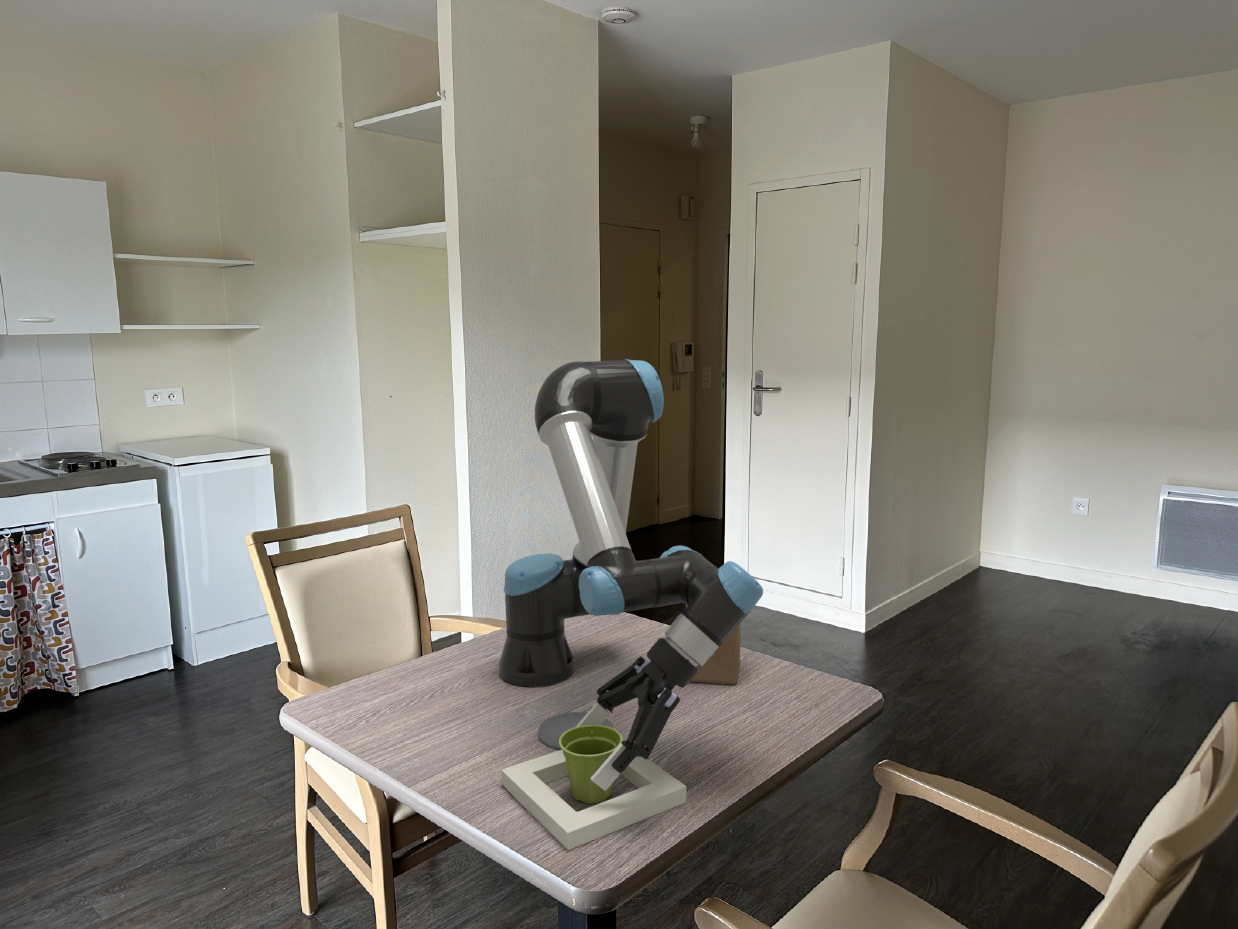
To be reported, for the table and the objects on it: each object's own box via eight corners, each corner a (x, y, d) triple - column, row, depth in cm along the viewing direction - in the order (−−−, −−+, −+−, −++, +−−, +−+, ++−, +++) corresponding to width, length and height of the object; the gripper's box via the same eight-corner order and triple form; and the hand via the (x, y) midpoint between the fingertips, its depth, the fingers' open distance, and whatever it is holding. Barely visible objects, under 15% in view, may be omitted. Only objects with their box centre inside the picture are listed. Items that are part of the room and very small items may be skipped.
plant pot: (631, 804, 123) (630, 749, 122) (568, 816, 120) (566, 759, 119) (613, 773, 132) (612, 720, 130) (554, 783, 129) (552, 730, 128)
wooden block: (737, 686, 163) (737, 586, 159) (685, 683, 165) (685, 584, 161) (740, 666, 172) (740, 571, 169) (691, 663, 174) (691, 569, 171)
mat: (524, 728, 147) (524, 725, 147) (588, 708, 154) (588, 705, 154) (562, 759, 136) (562, 755, 136) (628, 736, 143) (628, 733, 143)
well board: (501, 785, 129) (501, 769, 128) (611, 747, 140) (610, 733, 139) (568, 850, 112) (567, 833, 112) (686, 802, 123) (686, 786, 123)
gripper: (731, 700, 116) (628, 821, 114) (670, 638, 139) (583, 737, 137) (694, 668, 113) (589, 791, 111) (638, 611, 137) (550, 711, 135)
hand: (585, 761), depth 124 cm, fingers open, 13 cm apart
